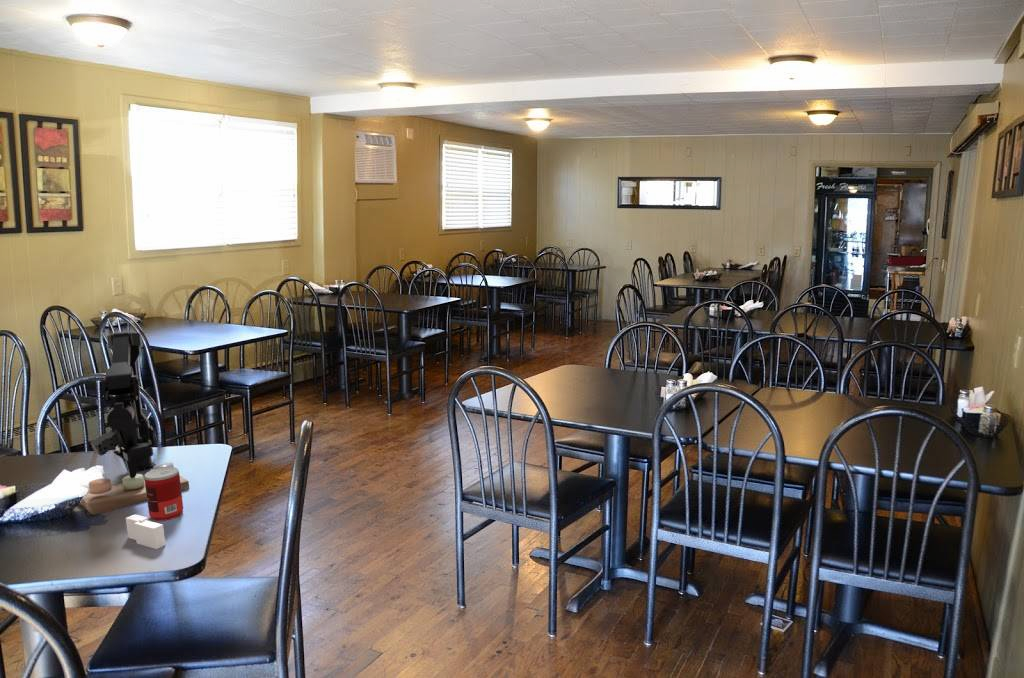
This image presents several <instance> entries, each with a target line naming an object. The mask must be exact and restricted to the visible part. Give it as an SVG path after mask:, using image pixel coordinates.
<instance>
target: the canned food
mask: <svg viewBox="0 0 1024 678" xmlns="http://www.w3.org/2000/svg"><path fill="white" fill-rule="evenodd" d="M179 475H180V471H179V468H178V467H163V468H158V469H154V470H153V469H151V470H150V471H147V472H146V473H145V474H143V478H144V479H145V487H146V495H147V500H146V501H147V508H148V515H149V518H150V520H153V521H157V522H160V521H161V522H162V521H168V520H172V519H175V518H177V517H180V515H181V514H182V513H183V511H184V504H183V503H184V502H183V494H182V490H181V484H180V476H181V475H180V476H179Z"/></svg>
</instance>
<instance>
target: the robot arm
mask: <svg viewBox="0 0 1024 678" xmlns="http://www.w3.org/2000/svg"><path fill="white" fill-rule="evenodd" d="M106 337H107V348H108V350H109V351H111V352H112V353H111V366H110V367H108V368H107V370H105V377H104V378H103V379H102V395H103V404H104V405H108V404H110V410H109V411H108V414H107V418H106V422H107V425H108V427H109V429H110V430H109V431H108V432H106V433H103V434H101V435H100V436H98V437H96V438H95V439H92V440H91V441H90V442H89V443H90V445H91V447H92V449H93V451H94V452H95V454H98V455H99V456H100V457H102V456H104V455H105V454H107V452H109V451H111V450H113V449H114V448H116V450H115V451H113V454H114V455H116V456H118V457H119V458H120V459H121V460H122V462H123V464H124V467H125V468H126V471H127V473H128V474H127V475H129V476H130V477H131V478H134V477H135V476H136V474H138V471H143V470H147V469H151V468H153V466H155V465H157V464H156V463H155V462H153V461H152V457H153V456H154V451H153V450H154V448H153V447H155V446H158V441H157V435H156V431H155V429H154V428H153V426H152V425H150V420H149V418H148V417H147V416H146V415H145V414H144V413H143V410H142V400H141V390H140V380H139V375H138V367H137V361H138V359H139V357H140V355H141V353H142V351H141V348H143V346H144V345H143V337H142V334H141V333H140V332H137V331H128V330H127V331H115V332H113V333H111V334H109V335H107V336H106Z"/></svg>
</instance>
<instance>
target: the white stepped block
mask: <svg viewBox="0 0 1024 678" xmlns="http://www.w3.org/2000/svg"><path fill="white" fill-rule="evenodd" d="M125 524H126V531H127V538H129V539H131V540H135V542H136V544H138V545H141V546H144V547H148V548H150V549H151V548H152V549H155V550H158V549H159V548H162V547H164V546H166V538H165V529H164V524H161V523H158V522H155V521H150V520H149V518H148V516H147V517H146V516H142V515H139V514H133V515H130V516H127V517H125Z"/></svg>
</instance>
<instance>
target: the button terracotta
mask: <svg viewBox="0 0 1024 678" xmlns="http://www.w3.org/2000/svg"><path fill="white" fill-rule="evenodd" d="M111 486H112V482H111V478H108V477H107V478H105V477H103V478H96V479H93V480H91V481H89V482H88V489H89V490H88V492H90V494H102V493H106V492H108V491H110V490H111V489H112V488H111Z"/></svg>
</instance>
